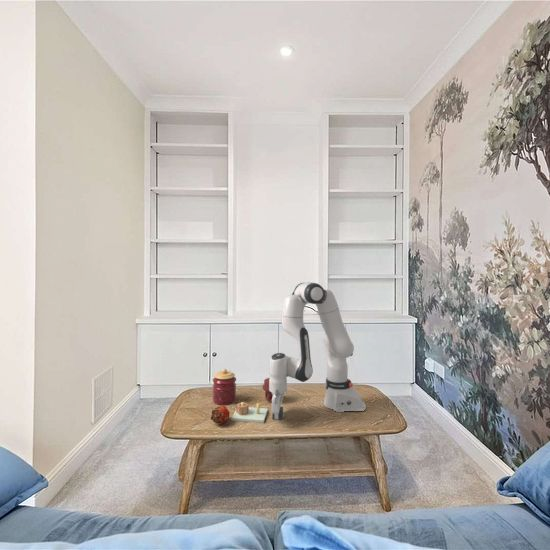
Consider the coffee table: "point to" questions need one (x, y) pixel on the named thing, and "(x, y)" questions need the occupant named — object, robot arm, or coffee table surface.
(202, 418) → the coffee table surface
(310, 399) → the coffee table surface
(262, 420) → the gear board
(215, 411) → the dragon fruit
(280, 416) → the loose gear
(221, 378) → the canister
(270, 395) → the mechanical component
